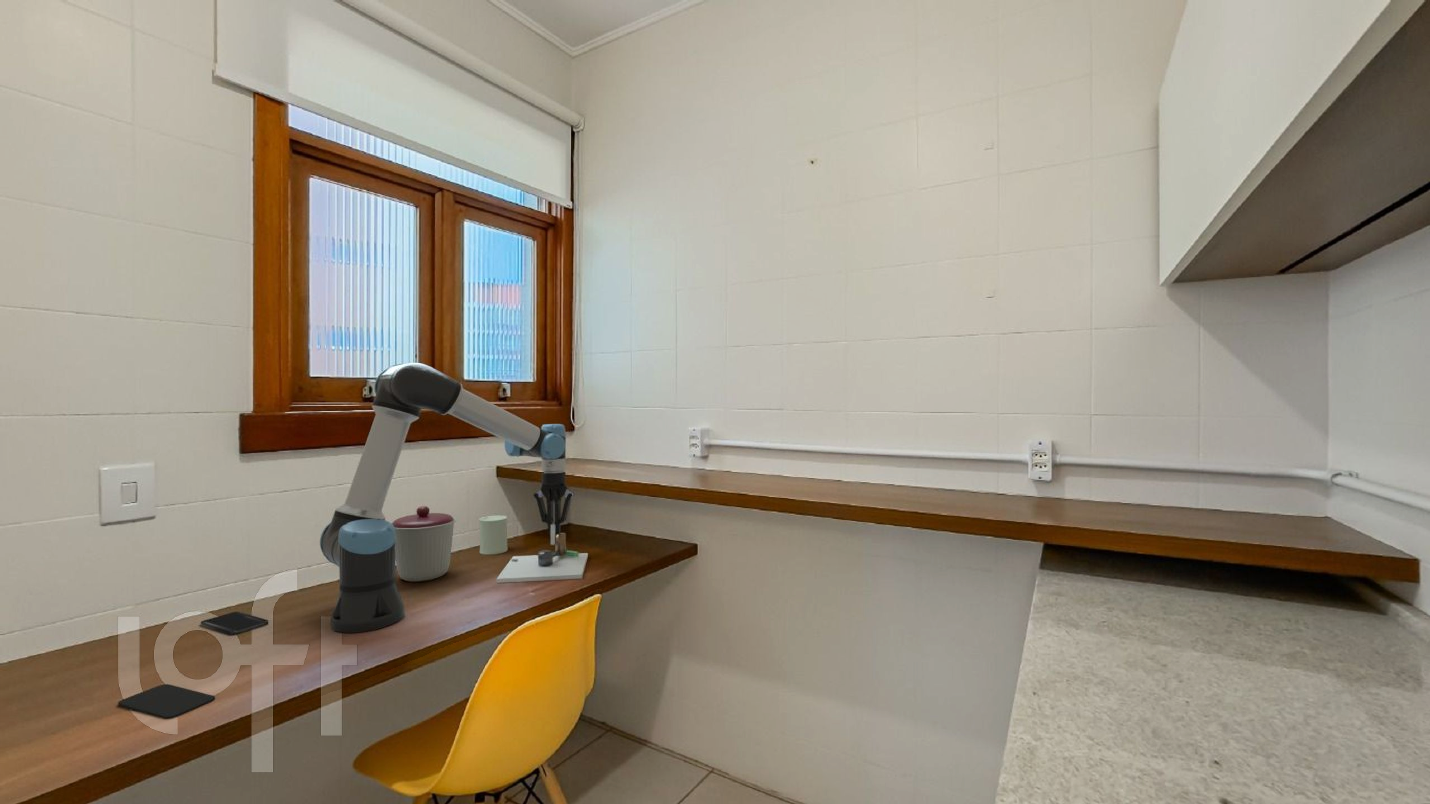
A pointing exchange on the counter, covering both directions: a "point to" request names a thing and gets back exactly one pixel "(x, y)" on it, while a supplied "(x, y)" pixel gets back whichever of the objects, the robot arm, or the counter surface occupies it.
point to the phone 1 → (166, 701)
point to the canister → (423, 544)
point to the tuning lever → (547, 555)
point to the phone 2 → (234, 623)
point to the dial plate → (544, 568)
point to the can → (493, 534)
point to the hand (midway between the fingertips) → (554, 543)
